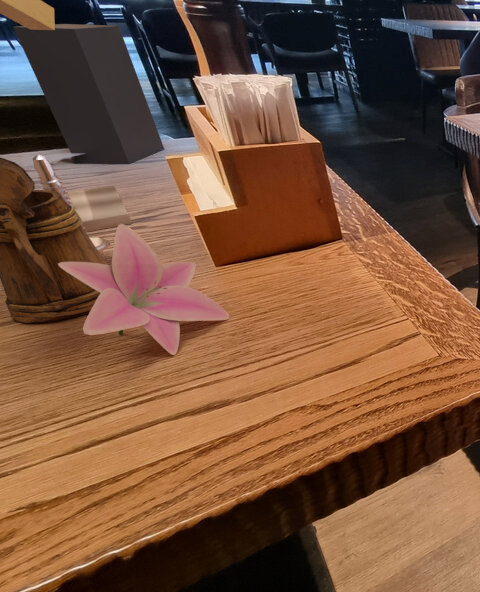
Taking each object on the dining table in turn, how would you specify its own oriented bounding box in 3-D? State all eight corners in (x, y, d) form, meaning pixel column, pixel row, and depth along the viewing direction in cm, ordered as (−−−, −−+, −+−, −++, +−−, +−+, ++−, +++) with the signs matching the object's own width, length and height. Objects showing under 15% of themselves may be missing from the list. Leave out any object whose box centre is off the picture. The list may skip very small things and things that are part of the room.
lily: (84, 401, 43) (106, 313, 40) (14, 314, 46) (30, 224, 43) (233, 364, 54) (260, 292, 51) (169, 295, 57) (191, 223, 54)
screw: (100, 251, 65) (126, 258, 64) (53, 266, 61) (79, 275, 60) (50, 146, 59) (77, 152, 57) (-6, 156, 55) (22, 162, 53)
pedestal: (129, 164, 97) (74, 28, 86) (75, 163, 96) (12, 26, 85) (164, 149, 106) (118, 25, 95) (115, 149, 105) (63, 23, 94)
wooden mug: (-12, 358, 46) (-147, 155, 37) (21, 293, 56) (-80, 120, 47) (118, 329, 51) (25, 142, 42) (128, 274, 60) (54, 113, 51)
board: (48, 204, 78) (44, 195, 77) (117, 194, 83) (113, 185, 82) (54, 237, 68) (49, 227, 67) (132, 223, 73) (128, 213, 72)
